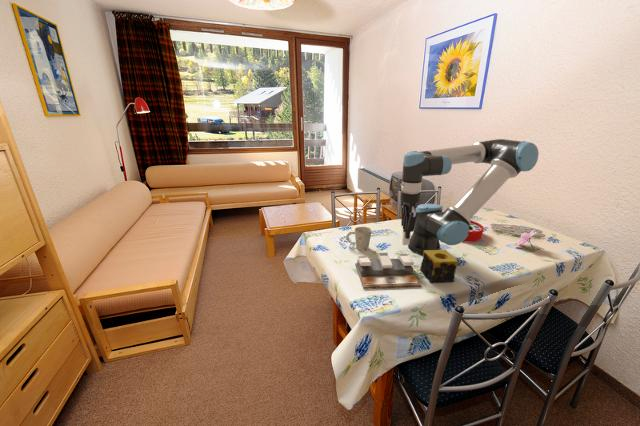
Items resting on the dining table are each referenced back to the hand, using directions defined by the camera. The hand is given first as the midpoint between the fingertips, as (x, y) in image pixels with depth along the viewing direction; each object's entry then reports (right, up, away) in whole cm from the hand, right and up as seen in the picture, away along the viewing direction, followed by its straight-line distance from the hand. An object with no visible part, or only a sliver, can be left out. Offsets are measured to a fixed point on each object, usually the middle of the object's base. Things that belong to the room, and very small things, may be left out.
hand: (405, 244), depth 119 cm
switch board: (-9, -13, -2) cm, 16 cm away
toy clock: (+43, +1, +37) cm, 57 cm away
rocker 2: (0, -8, 0) cm, 8 cm away
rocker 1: (-18, -9, -2) cm, 20 cm away
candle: (+12, -13, -3) cm, 18 cm away
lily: (+67, -4, +22) cm, 71 cm away
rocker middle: (-9, -8, 0) cm, 12 cm away
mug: (-18, -4, +22) cm, 28 cm away
